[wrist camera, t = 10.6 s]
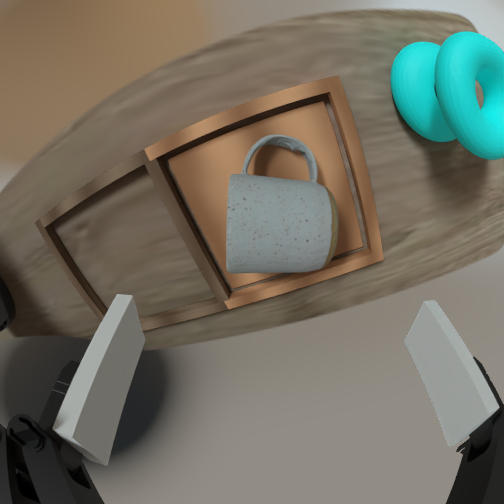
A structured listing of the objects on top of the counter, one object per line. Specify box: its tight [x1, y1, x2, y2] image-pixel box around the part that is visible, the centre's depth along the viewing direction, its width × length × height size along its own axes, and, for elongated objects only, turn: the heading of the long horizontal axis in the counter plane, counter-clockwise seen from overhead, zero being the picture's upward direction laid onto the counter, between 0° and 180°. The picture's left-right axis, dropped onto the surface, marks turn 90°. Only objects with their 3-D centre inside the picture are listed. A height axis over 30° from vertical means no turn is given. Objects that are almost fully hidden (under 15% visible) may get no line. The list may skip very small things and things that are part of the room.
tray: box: [35, 76, 384, 331], centre depth 26 cm, size 35×18×1 cm, turn 111°
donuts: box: [391, 31, 504, 160], centre depth 14 cm, size 10×10×10 cm
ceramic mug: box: [226, 134, 339, 274], centre depth 21 cm, size 11×8×8 cm
